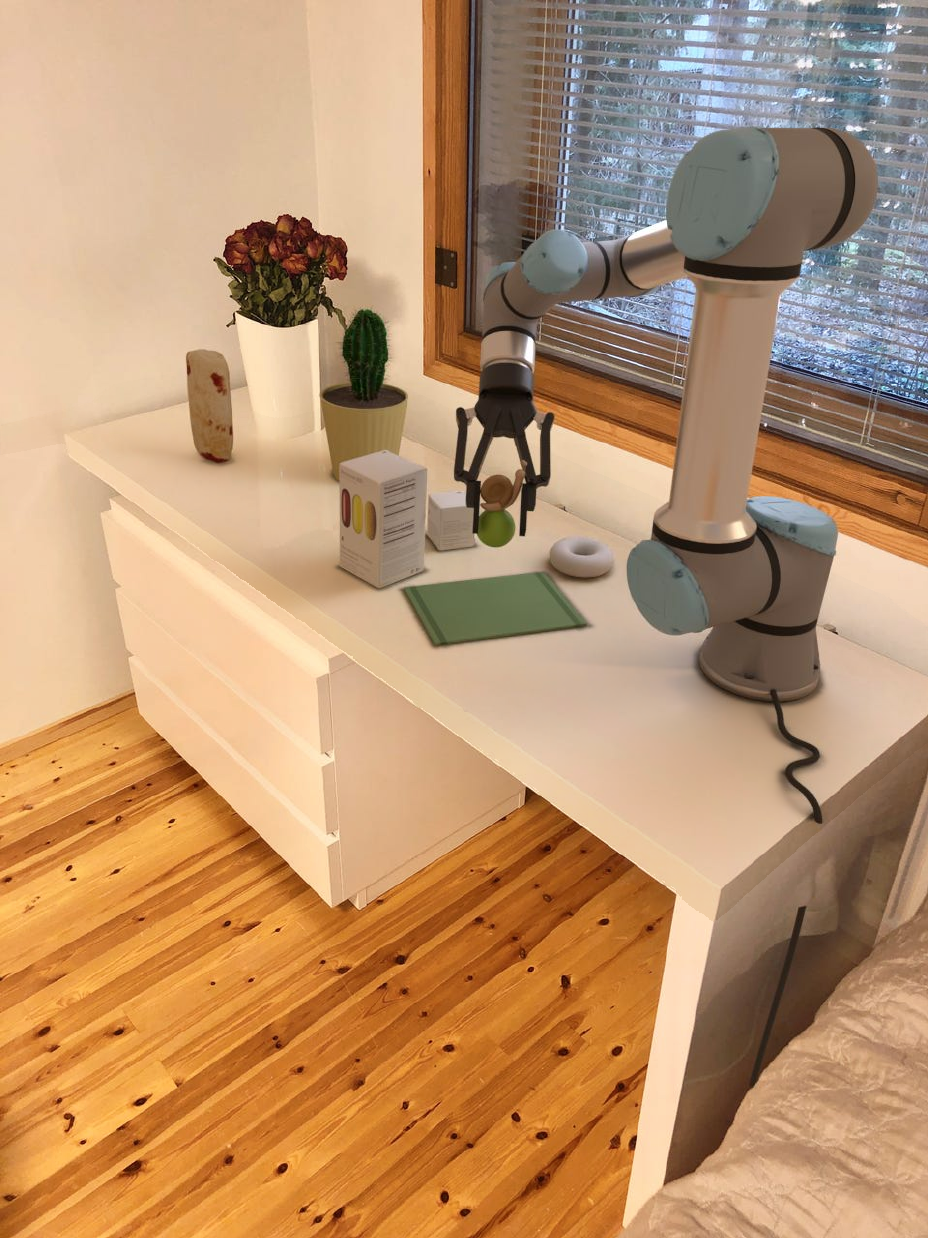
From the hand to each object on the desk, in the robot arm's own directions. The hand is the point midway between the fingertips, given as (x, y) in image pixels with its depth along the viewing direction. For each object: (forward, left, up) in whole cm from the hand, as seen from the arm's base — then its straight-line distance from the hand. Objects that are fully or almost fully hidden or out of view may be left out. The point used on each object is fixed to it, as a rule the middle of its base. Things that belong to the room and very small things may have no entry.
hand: (499, 531), depth 138 cm
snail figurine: (+3, -1, -4) cm, 5 cm away
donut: (+13, -19, -14) cm, 27 cm away
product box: (+26, -2, -14) cm, 29 cm away
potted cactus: (+56, +5, -14) cm, 58 cm away
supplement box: (+19, +11, -14) cm, 26 cm away
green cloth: (+4, -1, -14) cm, 14 cm away
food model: (+69, +30, -14) cm, 76 cm away
